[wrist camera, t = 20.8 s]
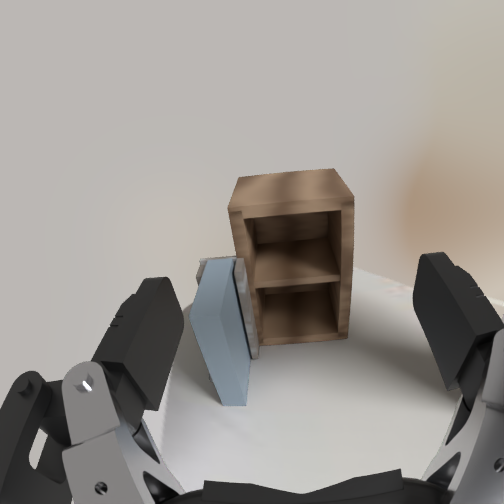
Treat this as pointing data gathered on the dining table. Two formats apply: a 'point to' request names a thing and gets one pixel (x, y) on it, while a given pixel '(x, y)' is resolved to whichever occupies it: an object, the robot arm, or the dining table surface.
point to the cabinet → (292, 256)
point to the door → (222, 331)
